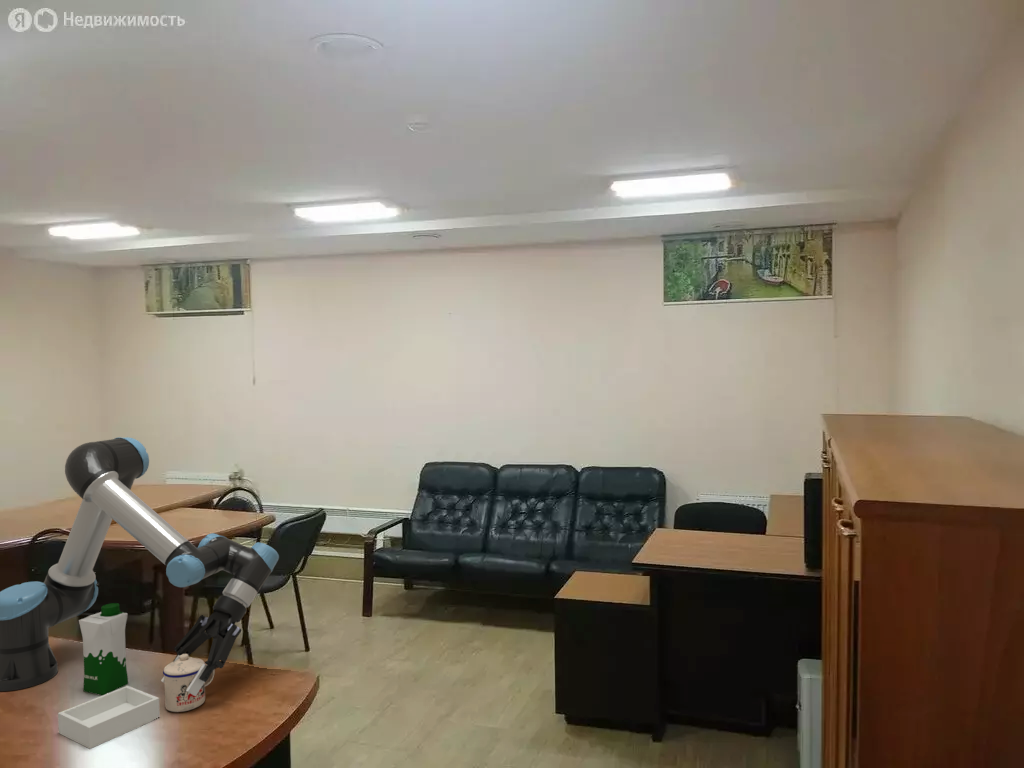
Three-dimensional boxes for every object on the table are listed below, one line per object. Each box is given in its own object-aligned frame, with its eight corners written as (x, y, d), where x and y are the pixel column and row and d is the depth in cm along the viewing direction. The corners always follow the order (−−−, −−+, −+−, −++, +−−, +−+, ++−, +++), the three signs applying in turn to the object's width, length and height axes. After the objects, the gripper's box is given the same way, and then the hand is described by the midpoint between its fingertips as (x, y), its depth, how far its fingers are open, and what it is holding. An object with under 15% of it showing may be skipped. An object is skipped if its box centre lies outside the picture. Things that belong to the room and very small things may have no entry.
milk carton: (134, 682, 186) (131, 604, 185) (102, 698, 178) (99, 616, 177) (109, 677, 190) (106, 600, 189) (76, 692, 181) (73, 612, 180)
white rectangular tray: (58, 733, 161) (58, 713, 161) (128, 704, 174) (127, 685, 174) (89, 748, 155) (89, 727, 154) (159, 717, 168) (159, 698, 168)
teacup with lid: (177, 716, 167) (175, 666, 167) (156, 706, 173) (154, 657, 172) (225, 696, 177) (223, 649, 176) (204, 687, 182) (202, 640, 182)
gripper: (272, 616, 181) (217, 706, 169) (216, 601, 193) (161, 684, 180) (254, 601, 177) (196, 692, 164) (198, 587, 188) (140, 671, 175)
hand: (178, 688), depth 172 cm, fingers closed on teacup with lid, 9 cm apart
